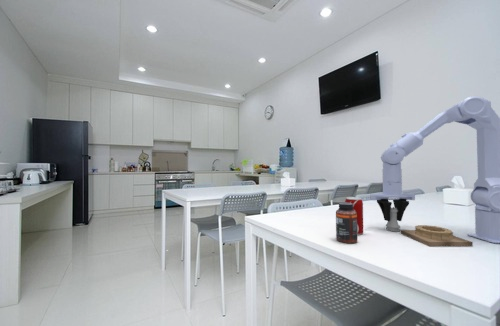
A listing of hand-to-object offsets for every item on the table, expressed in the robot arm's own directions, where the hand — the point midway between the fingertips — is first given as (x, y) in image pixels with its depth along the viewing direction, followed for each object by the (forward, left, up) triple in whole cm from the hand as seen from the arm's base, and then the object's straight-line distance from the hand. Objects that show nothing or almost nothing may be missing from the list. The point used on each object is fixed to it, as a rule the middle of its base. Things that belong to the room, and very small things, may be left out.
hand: (392, 220), depth 78 cm
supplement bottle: (+21, +11, -4) cm, 24 cm away
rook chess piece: (0, 0, -4) cm, 4 cm away
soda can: (+15, +3, -4) cm, 16 cm away
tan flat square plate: (-6, +10, -3) cm, 12 cm away
